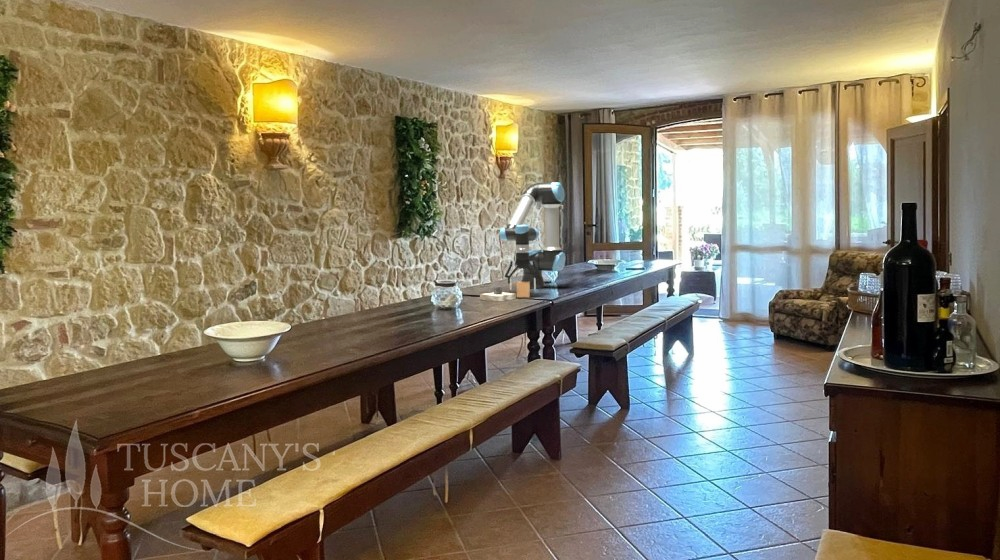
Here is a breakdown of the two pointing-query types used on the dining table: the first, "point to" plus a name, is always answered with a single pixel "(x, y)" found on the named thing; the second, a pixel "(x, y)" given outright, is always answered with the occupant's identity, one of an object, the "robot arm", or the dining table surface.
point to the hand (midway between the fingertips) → (522, 289)
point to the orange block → (523, 289)
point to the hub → (498, 295)
